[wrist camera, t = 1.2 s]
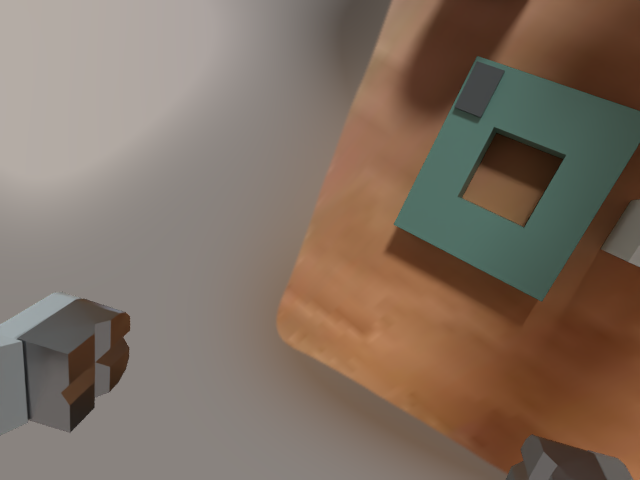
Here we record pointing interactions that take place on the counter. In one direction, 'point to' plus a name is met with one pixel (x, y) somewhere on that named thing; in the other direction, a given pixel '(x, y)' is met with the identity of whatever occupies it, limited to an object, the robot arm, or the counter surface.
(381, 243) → the counter surface
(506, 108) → the board
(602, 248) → the plug
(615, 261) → the counter surface
